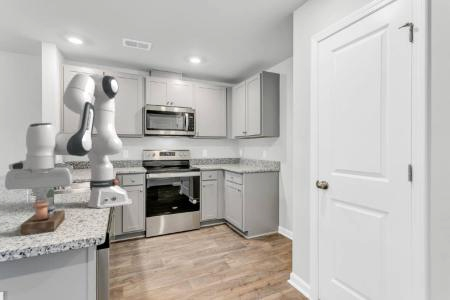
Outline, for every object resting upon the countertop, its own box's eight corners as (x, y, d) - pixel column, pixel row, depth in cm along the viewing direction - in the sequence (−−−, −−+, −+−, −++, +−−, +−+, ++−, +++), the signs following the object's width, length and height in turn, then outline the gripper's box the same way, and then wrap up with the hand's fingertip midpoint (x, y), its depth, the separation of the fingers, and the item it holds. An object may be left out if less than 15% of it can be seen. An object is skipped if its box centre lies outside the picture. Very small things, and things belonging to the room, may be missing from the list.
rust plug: (51, 215, 88) (50, 200, 88) (47, 219, 84) (47, 203, 84) (36, 217, 86) (36, 201, 86) (31, 221, 82) (31, 204, 82)
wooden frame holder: (64, 219, 98) (64, 210, 98) (54, 231, 84) (54, 221, 84) (36, 222, 94) (36, 212, 94) (20, 235, 80) (20, 224, 80)
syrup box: (45, 205, 122) (45, 179, 122) (54, 205, 121) (54, 179, 120) (35, 208, 116) (35, 180, 116) (44, 208, 115) (43, 181, 115)
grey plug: (56, 219, 96) (56, 205, 96) (53, 222, 91) (53, 207, 91) (43, 220, 94) (43, 206, 94) (39, 224, 89) (38, 209, 89)
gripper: (74, 162, 92) (74, 195, 92) (11, 164, 84) (10, 199, 84) (71, 163, 86) (71, 198, 86) (2, 165, 78) (2, 203, 78)
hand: (40, 199), depth 85 cm, fingers closed
